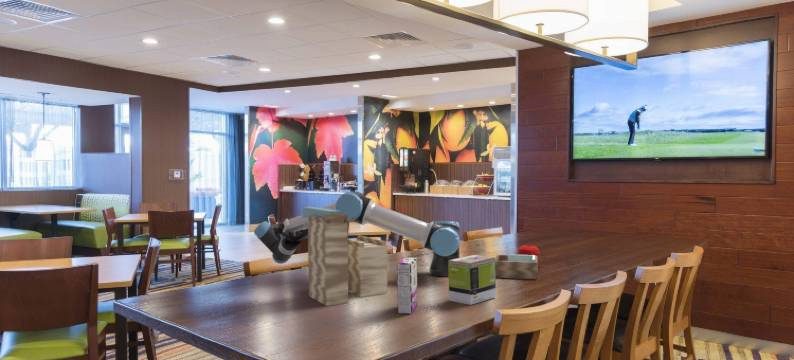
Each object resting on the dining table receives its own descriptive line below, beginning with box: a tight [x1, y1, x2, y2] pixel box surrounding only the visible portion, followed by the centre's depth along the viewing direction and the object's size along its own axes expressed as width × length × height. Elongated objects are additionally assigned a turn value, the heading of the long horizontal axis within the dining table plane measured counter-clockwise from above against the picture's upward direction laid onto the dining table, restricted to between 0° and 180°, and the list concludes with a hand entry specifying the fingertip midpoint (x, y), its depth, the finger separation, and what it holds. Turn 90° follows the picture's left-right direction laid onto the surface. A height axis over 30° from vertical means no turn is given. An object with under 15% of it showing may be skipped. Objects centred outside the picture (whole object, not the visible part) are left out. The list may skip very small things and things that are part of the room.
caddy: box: [494, 254, 539, 280], centre depth 235 cm, size 18×18×7 cm
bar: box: [301, 206, 340, 219], centre depth 197 cm, size 27×4×4 cm, turn 30°
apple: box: [517, 243, 541, 260], centre depth 253 cm, size 10×10×11 cm
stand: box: [307, 214, 349, 307], centre depth 191 cm, size 17×8×31 cm, turn 30°
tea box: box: [448, 254, 497, 306], centre depth 190 cm, size 15×10×15 cm, turn 134°
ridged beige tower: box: [348, 234, 388, 298], centre depth 207 cm, size 22×11×20 cm, turn 30°
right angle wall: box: [507, 254, 535, 262], centre depth 237 cm, size 12×12×8 cm
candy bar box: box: [396, 257, 418, 315], centre depth 177 cm, size 11×5×16 cm, turn 168°
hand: (304, 220), depth 210 cm, fingers open, 13 cm apart
